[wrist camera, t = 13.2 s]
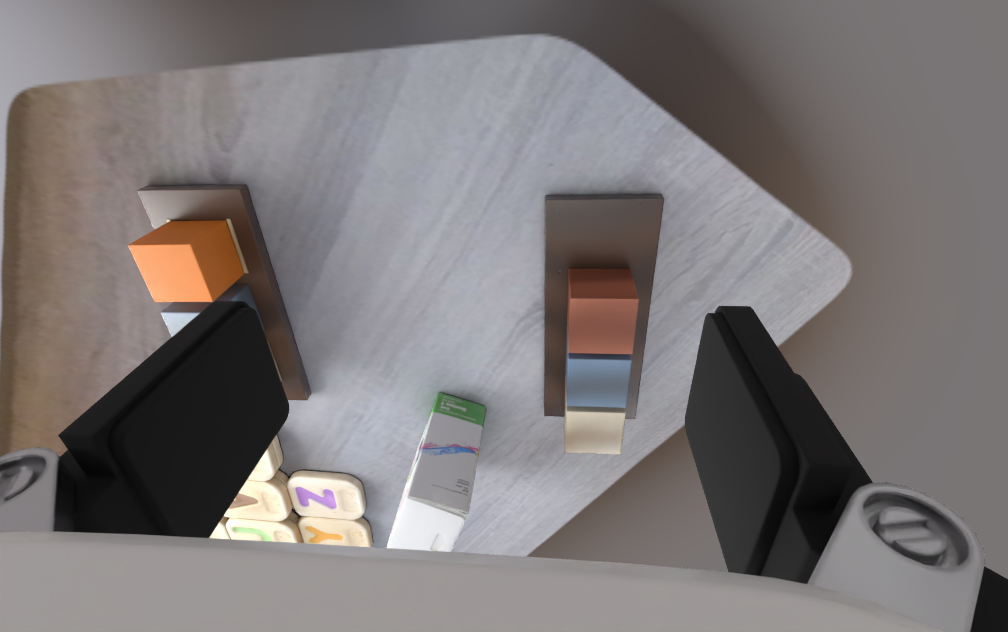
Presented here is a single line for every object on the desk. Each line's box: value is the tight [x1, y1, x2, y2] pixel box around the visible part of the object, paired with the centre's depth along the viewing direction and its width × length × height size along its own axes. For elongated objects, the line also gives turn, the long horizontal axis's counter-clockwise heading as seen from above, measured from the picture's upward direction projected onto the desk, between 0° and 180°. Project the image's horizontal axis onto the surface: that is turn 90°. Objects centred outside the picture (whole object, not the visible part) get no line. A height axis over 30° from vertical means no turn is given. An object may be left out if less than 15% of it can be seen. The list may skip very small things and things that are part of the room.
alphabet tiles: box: [210, 435, 373, 547], centre depth 58 cm, size 33×33×2 cm
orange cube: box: [128, 220, 244, 302], centre depth 37 cm, size 4×4×4 cm
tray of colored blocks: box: [137, 185, 311, 400], centre depth 40 cm, size 20×8×6 cm, turn 2°
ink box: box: [387, 393, 486, 552], centre depth 43 cm, size 8×5×12 cm, turn 161°
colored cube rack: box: [544, 194, 664, 455], centre depth 38 cm, size 20×8×6 cm, turn 2°
